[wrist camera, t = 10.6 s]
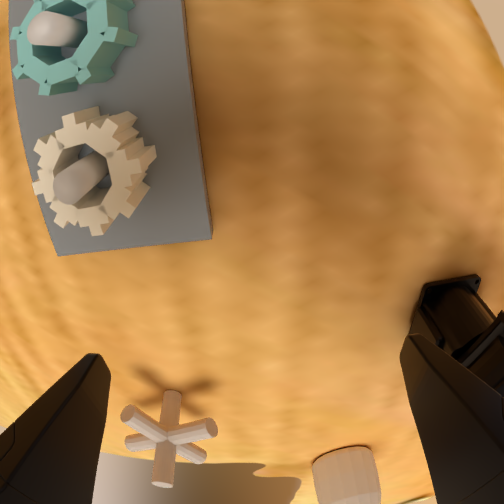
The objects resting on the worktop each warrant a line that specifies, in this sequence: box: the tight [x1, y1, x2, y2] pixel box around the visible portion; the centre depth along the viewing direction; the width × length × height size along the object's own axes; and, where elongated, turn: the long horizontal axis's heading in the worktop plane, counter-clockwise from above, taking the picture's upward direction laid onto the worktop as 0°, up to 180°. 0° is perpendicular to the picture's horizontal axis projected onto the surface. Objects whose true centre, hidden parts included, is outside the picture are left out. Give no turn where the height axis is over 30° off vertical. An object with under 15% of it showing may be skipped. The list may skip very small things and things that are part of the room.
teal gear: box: [10, 0, 138, 96], centre depth 11 cm, size 6×6×3 cm
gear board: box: [9, 0, 213, 256], centre depth 13 cm, size 11×19×6 cm, turn 5°
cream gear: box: [32, 106, 157, 236], centre depth 15 cm, size 6×6×3 cm
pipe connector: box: [121, 390, 218, 488], centre depth 25 cm, size 10×10×10 cm
